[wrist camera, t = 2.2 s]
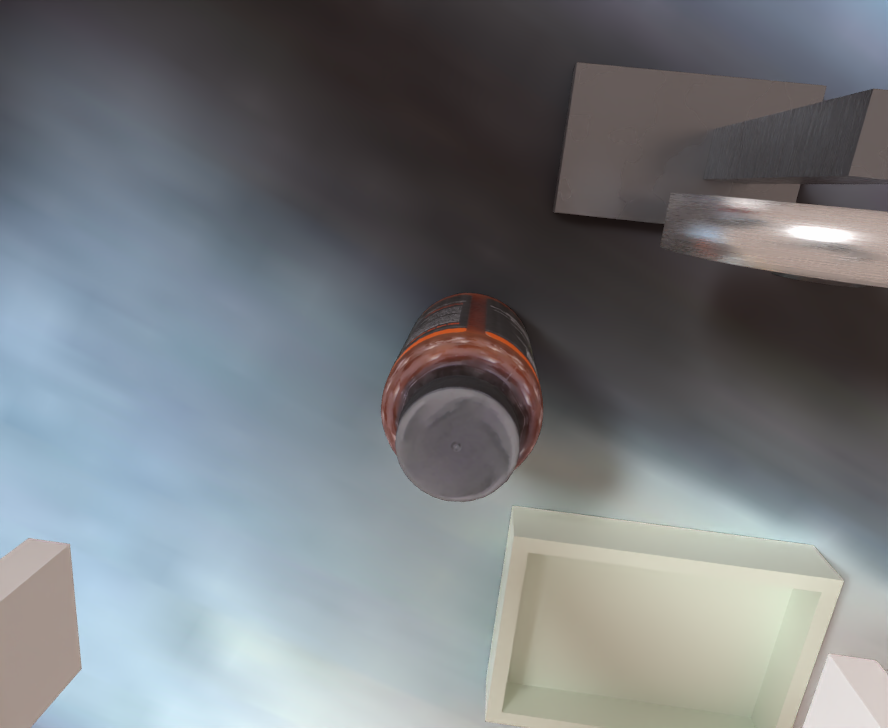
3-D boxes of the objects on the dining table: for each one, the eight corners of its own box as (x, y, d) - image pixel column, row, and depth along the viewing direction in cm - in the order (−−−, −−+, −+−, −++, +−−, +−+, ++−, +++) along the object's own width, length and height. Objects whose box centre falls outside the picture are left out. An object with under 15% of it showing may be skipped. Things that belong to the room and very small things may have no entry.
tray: (486, 679, 35) (485, 721, 32) (512, 505, 32) (513, 536, 29) (756, 719, 34) (778, 765, 32) (813, 545, 31) (844, 580, 28)
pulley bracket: (549, 228, 28) (604, 274, 14) (574, 67, 26) (666, -72, 12) (805, 256, 27) (1131, 333, 13) (850, 93, 25) (1292, -20, 11)
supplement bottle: (387, 362, 30) (325, 463, 19) (454, 265, 28) (429, 315, 18) (483, 428, 31) (476, 561, 20) (555, 337, 29) (591, 428, 18)
